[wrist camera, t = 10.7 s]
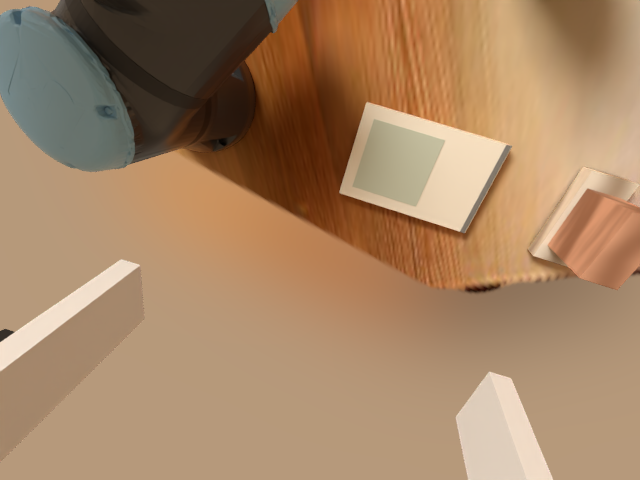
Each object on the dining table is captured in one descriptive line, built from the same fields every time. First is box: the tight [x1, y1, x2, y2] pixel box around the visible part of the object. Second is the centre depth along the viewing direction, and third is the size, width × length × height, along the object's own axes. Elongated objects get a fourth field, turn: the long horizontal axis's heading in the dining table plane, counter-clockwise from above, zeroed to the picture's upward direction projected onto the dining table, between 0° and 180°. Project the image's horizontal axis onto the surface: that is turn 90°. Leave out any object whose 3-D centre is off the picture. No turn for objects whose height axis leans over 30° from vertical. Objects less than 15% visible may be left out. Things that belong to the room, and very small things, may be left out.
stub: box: [528, 167, 640, 290], centre depth 36 cm, size 5×12×10 cm, turn 165°
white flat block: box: [339, 102, 512, 233], centre depth 41 cm, size 18×12×2 cm, turn 75°
